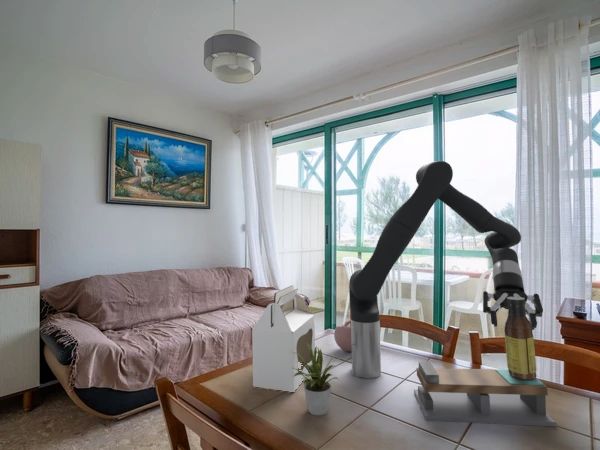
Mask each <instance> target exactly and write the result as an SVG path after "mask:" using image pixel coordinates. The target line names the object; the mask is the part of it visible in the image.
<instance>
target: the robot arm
mask: <svg viewBox="0 0 600 450" xmlns="http://www.w3.org/2000/svg"><path fill="white" fill-rule="evenodd" d="M453 175H454V170H453V168H452V166H451V164H450V163H448V162H447V161H444V160H435V161H431V162H428V163H426V164H424V165H422V166H420V167H419V168H418V169H417V171H416V174H415V181H416V183H417V186H416V189H415V190H414V192H413V193H412V195H410V197H409V198H408V199H407V200H406V201H405V202H404V203H403V204H402V205H401V206H400V207H398V208H397V210H396V211H395V212H394V213H393V214H392V215H391V217H390V218H389V220H388V222H387V223H386V225H385V226H384V228H383V230H382V231H381V234H380V235H379V238H378V241H377V243H376V245H375V249H374V251H373V253H372V255H371V256H370V258H369V259H368V261H367V263H366V264H365V265H364V266H363V268H362V269H359V270H356V271H354V272H353V273H352V274H351V276H350V278H349V281H348V283H349V284H348V289H349V290H348V293H349V294H348V295H349V309H350V320H351V323H350V327H351V339H352V340H351V345H352V352H351V372H352V376H355V377H359V378H364V379H372V378H373V379H374V378H378V377H379V376H381V374H382V364H381V363H382V362H381V360H382V358H381V325H380V323H381V322H380V310H379V305H378V295H379V293H380V291H381V290H382V288H383V286H384V284H385V282H386V280H387V278H388V275H389V274H390V272H391V270H392V268H393V267H394V266H395V264H396V262H397V261H398V260H399V259H400V257H401V256H402V255H403V253H404V251H405V250H406V249H407V248H408V246H409V245H410V243H411V241H412V240H413V238H414V237H415V235H416V233H417V232H418V230H419V228H420V227H421V225H422V223H423V222H424V220H425V219H426V217H427V216H428V214H429V212H430V210H431V209H432V207H433V205H435V203H436V201H437V200H439V201H440V202H442V203H444V204H445V205H446V206H448V207H449V208H450V209H451V210H452V211H454V212H455V213H456V214H457V215H459V217H461V218H462V219H463V220H464V221H465V222H466V223H467V224H468V225H469V226H471V228H473V229H474V230H475V231H476V232H478V233H480V234H484V233H485V234H486V233H488V234H486V236H485V238H484V244H485V247H486V248H487V250H488V252H489V254H490V257H491V258H492V259H491V261H492V280H493V288H494V289H493V290H494V293H488V291H486V290H484V291H482V312H483V313H484V314H489V315H490V323H491V325H493V326H494V327H496V328H498V319H497V313H498V312H500V311H501V310H502V309H504V310H508V304H507V297H522V298H525V302H526V303H525V313H526V316H527V317H528V320H529V322H530V323H531V326H532V331H534V330H535V329H537V326H538V321H537V317H538V318H542V317H543V313H544V308H543V304H542V302H541V299H540V295H539V293H534V294H533V295H529V294H528V295H527V294H526V292H525V287H524V280H523V275H522V274H523V273H522V271H521V268H520V262H519V255H518V254H517V252H516V251H515V250H514V249H512V248H513V247H515V246H517V245H518V244H520V243H521V241H522V234H521V233H520V231H519V230H518V228H516V227H515V225H514V226H513V225H512V224H510V223H508V222H506V221H504V220H502V219H500V218H498V217H496V215H495V216H494V215H493V214H492V213H491V212H490V211H488V210H487V208H486V207H484V205H482V204H481V203H480V202H478V201H477V200H474V198H472V197H470V196H468V195H466V194H464V193H463V192H462V191H460V190H458V189H457V188H456V187H454V186H453V185H452V184H451V182H452V180H453V177H454V176H453ZM492 299H493V300H494V301H495V302H494V304H493V305H492V306H489V302H491V300H492ZM528 301H529V302H530V303H531V304H532V305H534V308H533V307H531V306H530V304H529V303H528Z"/></svg>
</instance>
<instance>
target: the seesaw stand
mask: <svg viewBox="0 0 600 450" xmlns="http://www.w3.org/2000/svg"><path fill="white" fill-rule="evenodd" d="M413 393H414V396H415V398H416V401H417V402H418V405H419V408H420V410H421V412H422V415H423V417H424V419H425V421H434V422H435V421H438V422H439V421H441V422H456V423H457V422H459V423H460V422H461V423H474V424H475V423H476V424H477V423H478V424H479V423H481V424H497V425H498V424H500V425H518V426H520V425H521V426H534V427H535V426H537V427H538V426H539V427H557V422H556V420H554V419H553V418H552V417H551V416H550V415H549V414H548V413H547V408H546V406H547V404H546V395H515V394H480V393H446V392H425V390H424V388H423V386H422V385H417V389H413Z"/></svg>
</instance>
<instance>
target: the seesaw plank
mask: <svg viewBox="0 0 600 450" xmlns="http://www.w3.org/2000/svg"><path fill="white" fill-rule="evenodd" d="M416 376H417V379H418V380H419V382H420V384H421V386H423V388H424V390H425V392H446V393H480V394H515V395H545V396H548V395H549V393H548V386H547V385H546V384H545V383H543V381H541V380H540V379H538V378H537V377H536V378H535V379H533V380H524V379H517V378H515V377H513V376H511V375H510V374H509V369H501V368H500V369H498V368H497V369H495V368H494V369H491V368H490V369H489V368H487V369H486V368H442V367H441V368H440V367H437V368H435V367H434V365H433V364H432V363H431V360H430V361H429V360H428V361H425V360H421V361H418V367H416Z"/></svg>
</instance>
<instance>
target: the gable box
mask: <svg viewBox="0 0 600 450" xmlns="http://www.w3.org/2000/svg"><path fill="white" fill-rule="evenodd" d="M298 290H299V288H296V289H295V287H294V285H290V286H287V287H284V288H282V289H280V290H278V291H276V292H274V296H273V302H271V303H269V304H268V305H267V306H266V308H265V310H264V311H263V312H262V314H261V316H260V317H259V319H258V320H257V322H256V324H255V325H254V327H253V328H252V329H251V332H252V334H251V337H252V338H251V339H252V343H251V344H252V346H251V347H252V387H253V386H257V387H265V388H272V389H277V390H283V391H289V392H288V393H290V392H294V393H295V392H296V391H297V390H298V389H299V388H300V386H301V385H302V383H303V382H304V381H305V380H306V378H307V376H305V377H306V378H305V377H303V376H302V375H301V374H300V375H297V376H294V375H295V374H296V373H298V371H297V370H302V371H300V372H303V373H305V374H309V372H308V370H307V369H306V368H305V366H304V365H305V364H304V363H305V362H306V363H307V365H308V366H310V365H312V361H311V358H310V352H309V348H308V345H309V346H310V347H311V348H312V351H313V355H314V350H315V347H316V340H315V339H316V336H315V327H316V326H315V315H314V313H313V312H312V311H311V309H310V307H309V306H308V305H307V303H306V302H305V300H304V299H303V297H302V296H301V295H300V294H299V293H297V292H298ZM281 306H282V307H281ZM307 344H308V345H307ZM292 352H295V353H292ZM296 353H297V354H296ZM298 354H299V355H300V356H301V357H302V358H303V359H304V360H305V362H304V360H303V359H302V358H301V357H300V356H299V355H298ZM297 355H298V356H297ZM297 361H301V362H300V363H302V364H304V365H303V366H301V369H299V368H298V362H297ZM294 362H295V363H294ZM303 362H304V363H303ZM302 364H301V365H302ZM293 368H295V369H297V370H295V369H293ZM307 368H308V367H307ZM309 371H310V370H309ZM305 374H303V375H305ZM293 376H294V377H293ZM302 378H304V379H302ZM302 381H303V382H302ZM299 385H300V386H299ZM296 389H297V390H296ZM295 390H296V391H295ZM283 391H282V392H283Z"/></svg>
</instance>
